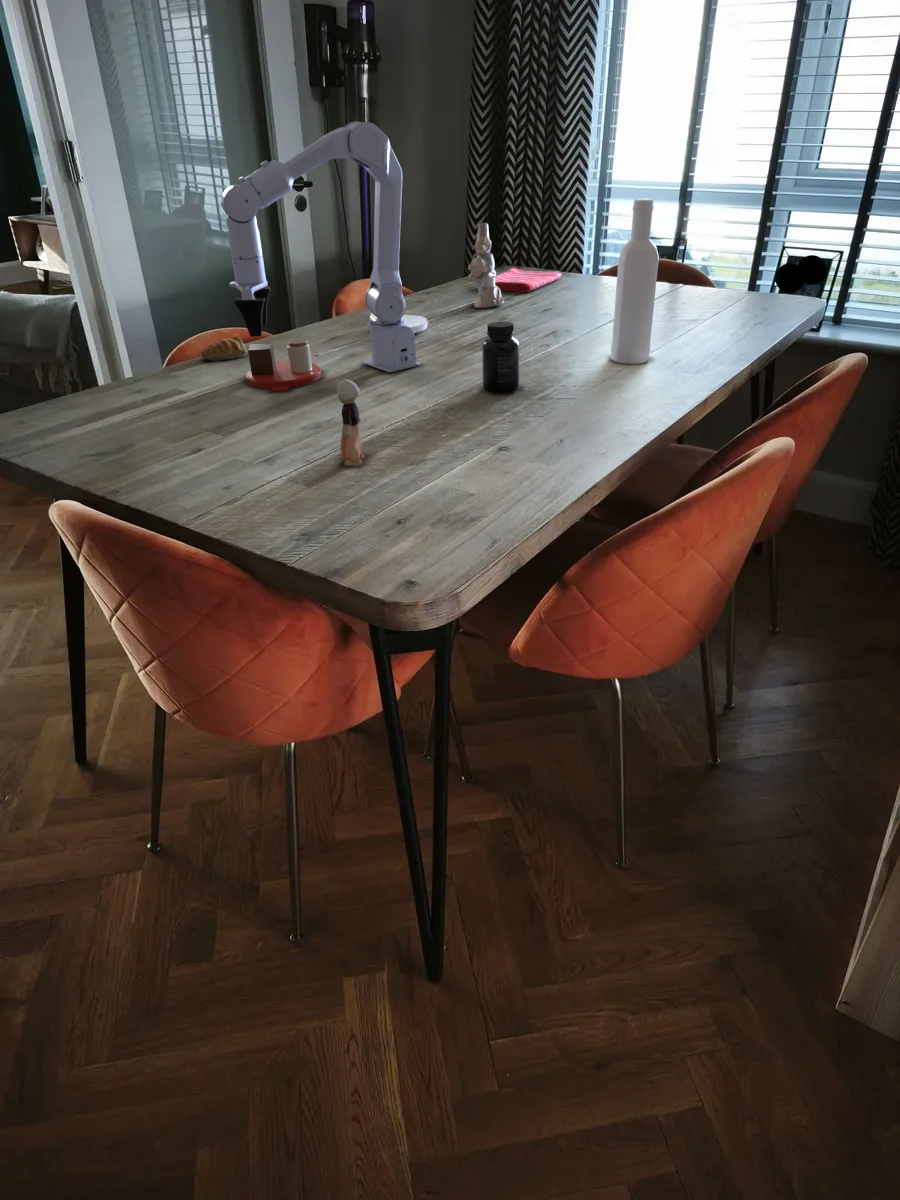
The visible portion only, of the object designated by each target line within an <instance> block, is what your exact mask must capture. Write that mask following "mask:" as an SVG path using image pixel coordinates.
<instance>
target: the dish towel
mask: <svg viewBox="0 0 900 1200" xmlns="http://www.w3.org/2000/svg"><path fill="white" fill-rule="evenodd" d="M562 275H563V274H562V272H556V271H555V272H554V271H542V270H523V269H519V268H516V267H511V268H510V269H508V270H507V271H505V272H502V273H501V274H496V276H495V285H496V286H497V287H499V288H500V291H506V292H521V293H529V292H532V291H533V290H536V289H539V288H541V287H544V286H546V285H547V284H550V283H552V282H554V281H557V280H558V279H560V278H561V277H562Z"/></svg>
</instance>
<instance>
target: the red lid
mask: <svg viewBox="0 0 900 1200" xmlns="http://www.w3.org/2000/svg"><path fill="white" fill-rule="evenodd" d="M275 364H276V370H275V373H274V374H272V375H253V376H252V373H251V369H249V370H248V371H247V372H246V373H245V381H246V383H247V384H248V386H251V387H254V388H258V389H264V390H270V392H271V393H278V392H289V389H292V388H298V387H303V386H306V385H310V384H312V383H315V382H317V381H318V380H319V379H321V377H322V369H321V368H320V367H319V366H318V365H316V364H314V363H312V370H311V371H309V372H305V373H293V372H291V371H290V364H289V360H287V361H275Z"/></svg>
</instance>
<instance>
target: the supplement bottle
mask: <svg viewBox="0 0 900 1200" xmlns="http://www.w3.org/2000/svg"><path fill="white" fill-rule="evenodd" d="M486 326H487V327H486V328H487V332H486V335H487V336H488V337H487V338H486V339H485V340H483V343H482V346H481V347H482V352H481V353H482V354H481V355H482V388H483V390H484V391H485V392H487V393H490V394H495V395H496V394H498V395H499V394H500V395H501V394H502V395H503V394H510V393H514V392H515V391H517V390H518V389H519V385H520V343H519V341H518V340H517V339H516V338H515V337H513V336H514V335H515V331H514V330H515V327H514V326H515V325H514V323H513V322H511V321H493V322H489V323H488V324H487V325H486Z"/></svg>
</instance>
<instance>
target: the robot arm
mask: <svg viewBox="0 0 900 1200" xmlns="http://www.w3.org/2000/svg"><path fill="white" fill-rule="evenodd" d="M396 156H397V155H395V152H394V149H393V147H392V146H391V143H390V139H389V137H388V136H387V134H385V132H384V131H382V129H380V127H378V126H377V124H375V123H373V122H370V121H362V122H361V121H351V122H348V123H347V124H345V126H342V127H341V126H340V127H338V128H336V129H333V130H331V131H330V132H328V133H326V134H324V135H323V136H320V138H318V139H316V140H315V141H314V142H313V143H311V144H309V145H308V146H306V147H305V148H304V149H302V150H301V151H299V152H298V153H297V154H295V155H294V156H292V157H291V158H289V159H288V160H286V161H285V162H281V161H278V160H276V159H273V160H270V162H269V161H268V160H264V161H262V162H260V166H261V167H260V168H259V169H257V170H255V171H253V172H252V173H251V174H249V175H247V176H246V177H245V176H243V175H242V176H240V177H238V181H239V183H240V184H231V185H228V186H227V187H226V188H225V189H224V191H223V194H222V196H221V202H220V203H221V204H220V205H221V207H222V209H223V211H224V213H225V214H226V226H227V228H228V229H227V238H228V241H229V242H228V243H229V250H230V256H231V261H232V268H233V274H234V275H233V276H234V279H235V280H234V281H230V282H229V284H228V285H229V287H230V288H235V289H237V290H238V291H239V292H240V294H241V297H235V298H234V299H233V302H234V304H235V306H236V307H237V309H238V311H239V312H240V313H241V316H242V318H243V321H244V323H245V326H246V329H247V331H248V334H249V336H250V337H252V338H253V337H262V335H263V328H265V327H267V322H268V321H267V319H268V318H267V317H268V316H267V315H268V302H269V296H270V293H271V290H272V289H271V287H270V286H268V285H269V283H268V280H267V276H266V271H265V263H264V256H263V255H264V254H263V248H262V241H261V235H260V230H259V228H258V222H257V215H258V212H259V211H258V210H259V209H261V210H264V209H265V208H267V207H269V206H270V205H272V204H274V203H275V202H277V201H278V200H279V199H281V198H283V197H284V196H287V195H288V194H290V193H291V192H292V189H293V184H294V182H295V180H297V179H298V178H301V177H302V176H304V175H305V174H307V173H309V172H311V171H312V170H314V169H315V168H317V167H319V166H320V165H322V164H324V163H326V162H328V161H329V160H332V159H338V160H341V159H342V160H343V159H344V160H345V159H347V160H352V161H354V162H356V163H357V164H359V165H360V166H362V167H363V169H364V170H365V171H366V172H367V173H368V174H369V175H370V176H371V177H372V178H373V180H374V182H375V185H374V223H373V224H374V229H373V267H372V271H371V273H370V278H369V280H370V281H369V287H368V288H367V290H366V293H365V299H364V301H365V305H366V306H367V309H368V310H369V311H370V312H371V313H370V316H369V318H368V322H369V323H368V329H369V328H370V330H369V340H370V353H371V359H367V360H364V361H363V364H364V365H367V366H370V367H373V368H375V369H378V370H381V371H384V372H387V373H393V372H398V371H402V370H405V369H408V368H409V369H410V368H412V367H417V366H420V362H418V361H417V354H416V352H417V351H416V337H415V333H413V331H412V329H411V328H410V327H408V326H407V325H406V324H405V322H404V316H403V315H405V313H406V308H407V305H406V300H405V298H404V295H403V283H402V280H401V276H400V268H399V267H400V247H401V246H400V245H401V220H402V219H401V218H402V193H403V192H402V191H403V170H402V166H401V165H400V163H399V161H398V159H397V157H396Z"/></svg>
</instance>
